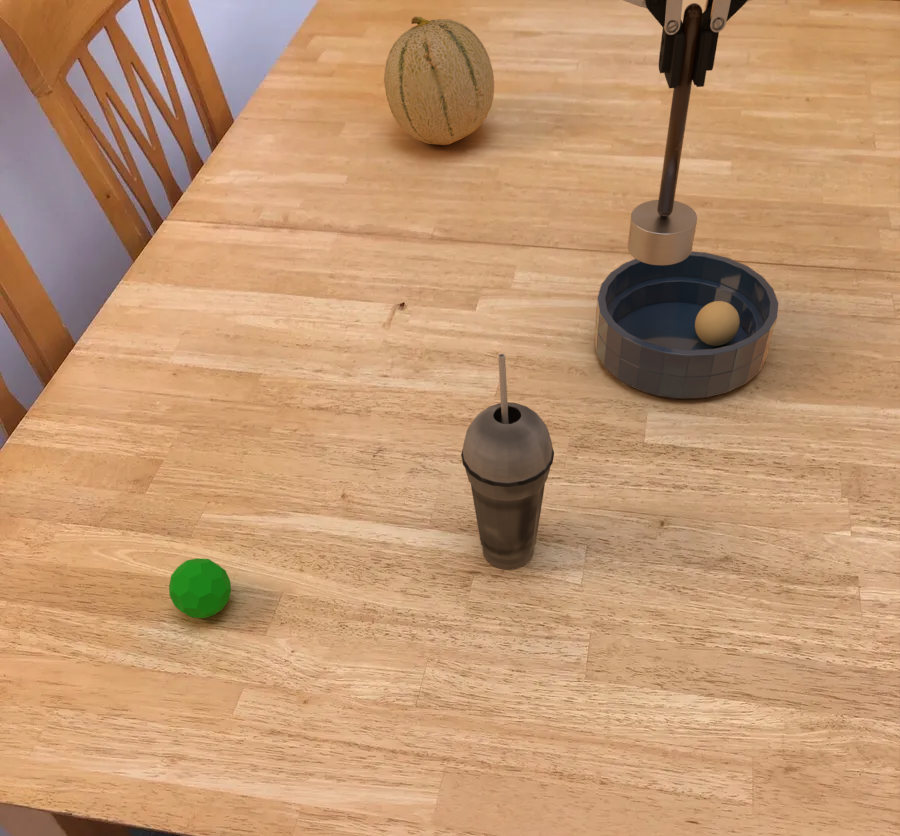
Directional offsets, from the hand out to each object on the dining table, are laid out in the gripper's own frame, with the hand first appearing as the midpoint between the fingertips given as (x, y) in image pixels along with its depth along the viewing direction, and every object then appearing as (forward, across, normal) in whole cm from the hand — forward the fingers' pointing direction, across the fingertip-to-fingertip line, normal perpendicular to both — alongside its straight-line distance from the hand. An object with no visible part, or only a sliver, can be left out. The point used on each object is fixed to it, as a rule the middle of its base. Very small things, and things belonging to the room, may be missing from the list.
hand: (683, 78), depth 75 cm
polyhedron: (+28, +42, +31) cm, 59 cm away
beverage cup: (+28, +16, +26) cm, 41 cm away
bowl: (+27, -4, 0) cm, 27 cm away
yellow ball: (+24, -7, 0) cm, 25 cm away
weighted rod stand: (+15, 0, 0) cm, 15 cm away
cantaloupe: (+28, +21, -50) cm, 61 cm away
